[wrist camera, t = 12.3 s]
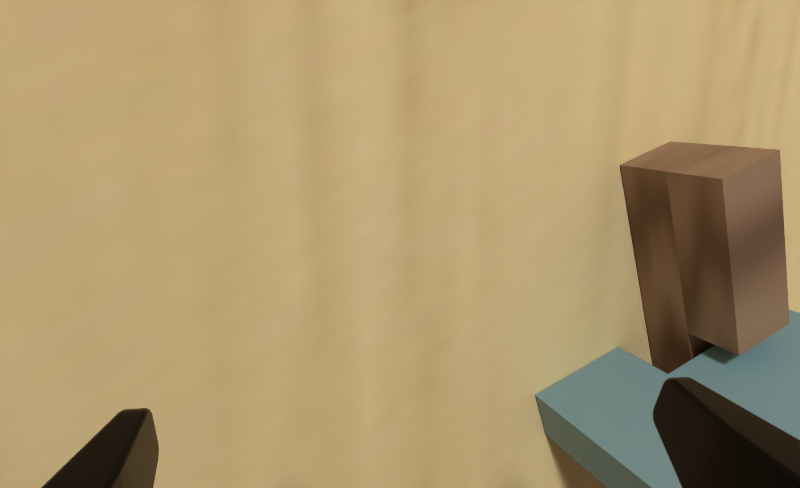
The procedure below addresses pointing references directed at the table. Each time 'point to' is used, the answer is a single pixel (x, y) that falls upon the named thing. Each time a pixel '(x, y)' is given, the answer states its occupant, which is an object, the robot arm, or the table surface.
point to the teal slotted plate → (637, 394)
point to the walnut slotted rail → (707, 247)
